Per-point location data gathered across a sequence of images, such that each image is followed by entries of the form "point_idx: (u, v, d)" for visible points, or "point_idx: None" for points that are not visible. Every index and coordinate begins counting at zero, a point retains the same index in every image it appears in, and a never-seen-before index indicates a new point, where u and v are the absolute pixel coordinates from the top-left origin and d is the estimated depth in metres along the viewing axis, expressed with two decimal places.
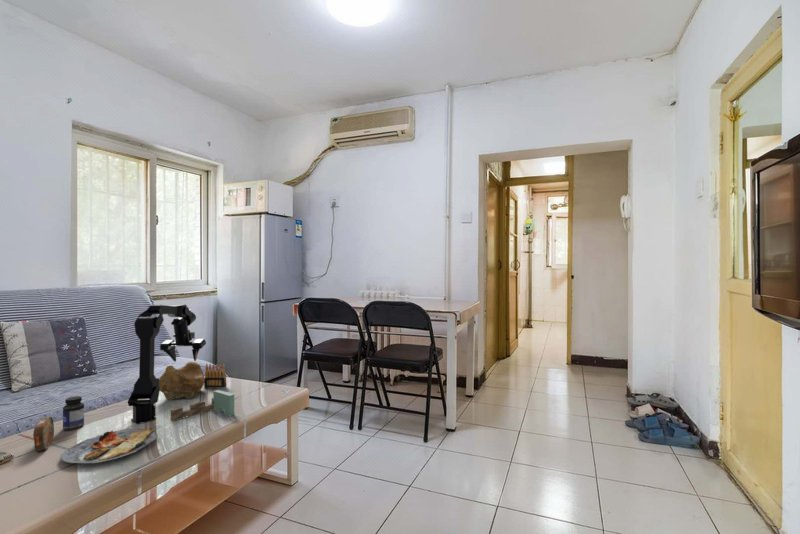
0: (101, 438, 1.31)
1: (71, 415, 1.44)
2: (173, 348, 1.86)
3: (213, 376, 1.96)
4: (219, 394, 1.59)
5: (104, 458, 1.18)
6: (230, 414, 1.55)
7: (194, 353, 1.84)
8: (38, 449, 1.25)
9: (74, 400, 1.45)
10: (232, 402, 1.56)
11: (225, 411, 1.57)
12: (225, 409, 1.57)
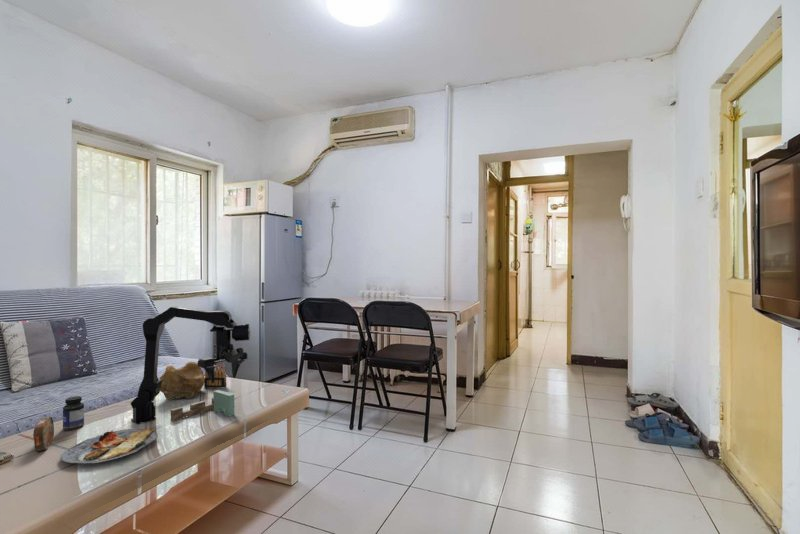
0: (101, 438, 1.31)
1: (71, 415, 1.44)
2: (236, 362, 1.64)
3: None
4: (219, 394, 1.59)
5: (104, 458, 1.18)
6: (230, 414, 1.55)
7: None
8: (38, 449, 1.25)
9: (74, 400, 1.45)
10: (232, 402, 1.56)
11: (225, 411, 1.57)
12: (225, 409, 1.57)
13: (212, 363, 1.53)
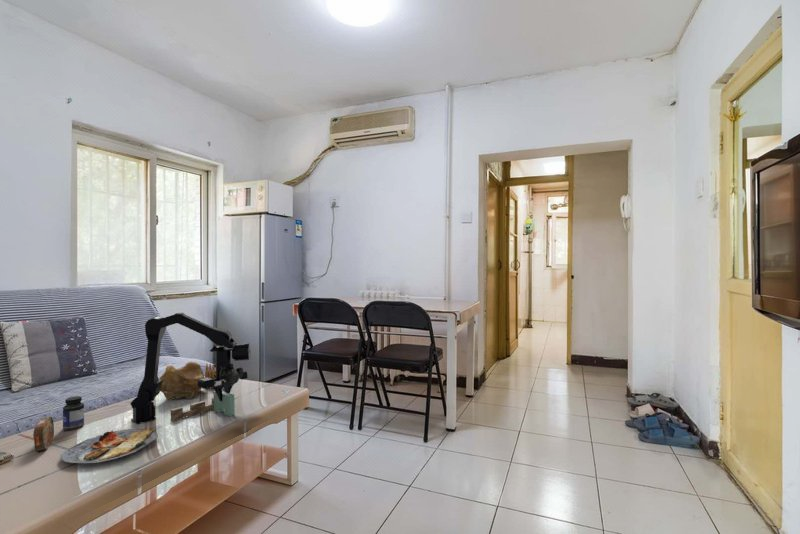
0: (101, 438, 1.31)
1: (71, 415, 1.44)
2: (228, 384, 1.60)
3: (213, 376, 1.96)
4: None
5: (104, 458, 1.18)
6: (230, 414, 1.55)
7: None
8: (38, 449, 1.25)
9: (74, 400, 1.45)
10: (232, 402, 1.56)
11: (225, 411, 1.57)
12: (225, 409, 1.57)
13: (212, 384, 1.53)
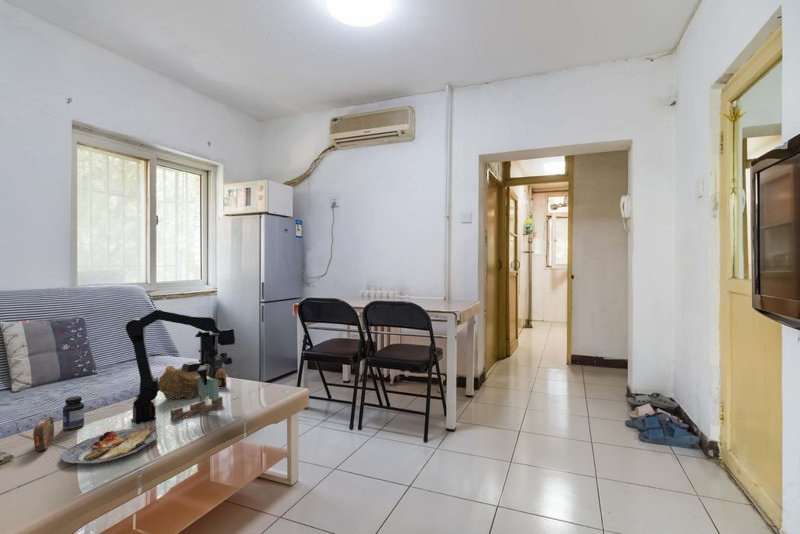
0: (101, 438, 1.31)
1: (71, 415, 1.44)
2: (212, 368, 1.64)
3: None
4: None
5: (104, 458, 1.18)
6: (214, 398, 1.59)
7: None
8: (38, 449, 1.25)
9: (74, 400, 1.45)
10: (216, 386, 1.60)
11: (209, 395, 1.61)
12: (209, 393, 1.61)
13: (196, 368, 1.57)
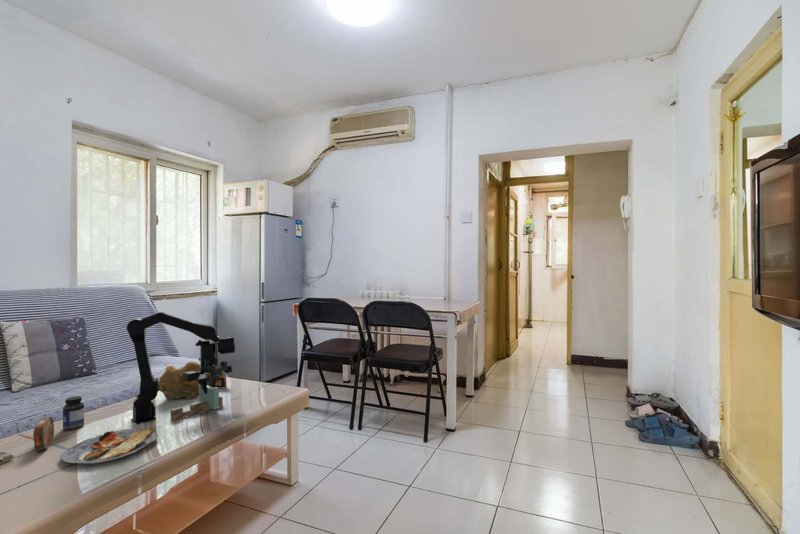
0: (101, 438, 1.31)
1: (71, 415, 1.44)
2: (213, 377, 1.64)
3: None
4: None
5: (104, 458, 1.18)
6: (214, 407, 1.59)
7: None
8: (38, 449, 1.25)
9: (74, 400, 1.45)
10: (217, 395, 1.60)
11: (210, 404, 1.61)
12: (210, 402, 1.61)
13: (196, 377, 1.57)
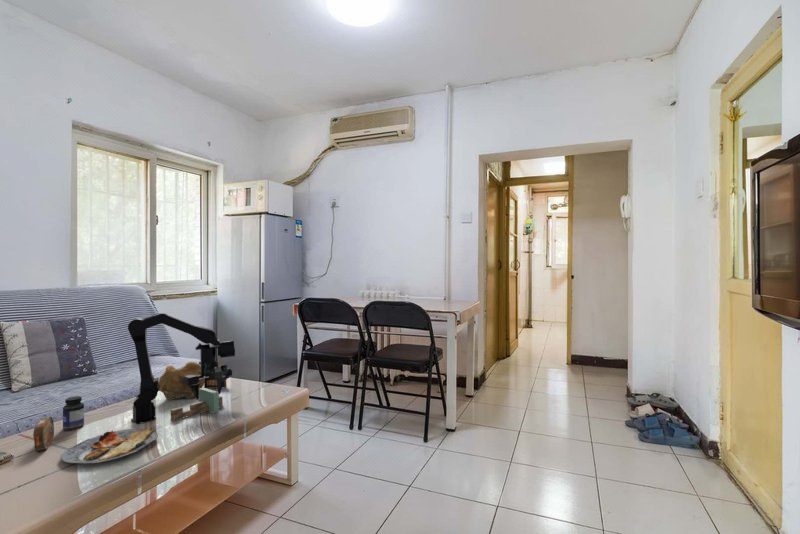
0: (101, 438, 1.31)
1: (71, 415, 1.44)
2: (221, 379, 1.67)
3: None
4: (204, 392, 1.63)
5: (104, 458, 1.18)
6: (214, 411, 1.59)
7: None
8: (38, 449, 1.25)
9: (74, 400, 1.45)
10: (217, 399, 1.60)
11: (210, 408, 1.61)
12: (210, 406, 1.61)
13: (196, 381, 1.57)
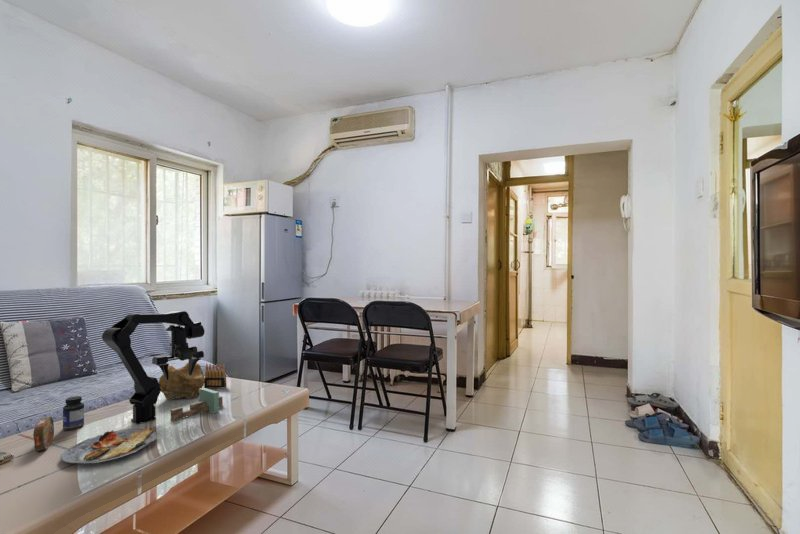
0: (101, 438, 1.31)
1: (71, 415, 1.44)
2: (192, 360, 1.70)
3: (213, 376, 1.96)
4: (204, 392, 1.63)
5: (104, 458, 1.18)
6: (214, 411, 1.59)
7: None
8: (38, 449, 1.25)
9: (74, 400, 1.45)
10: (217, 399, 1.60)
11: (210, 408, 1.61)
12: (210, 406, 1.61)
13: (165, 361, 1.59)
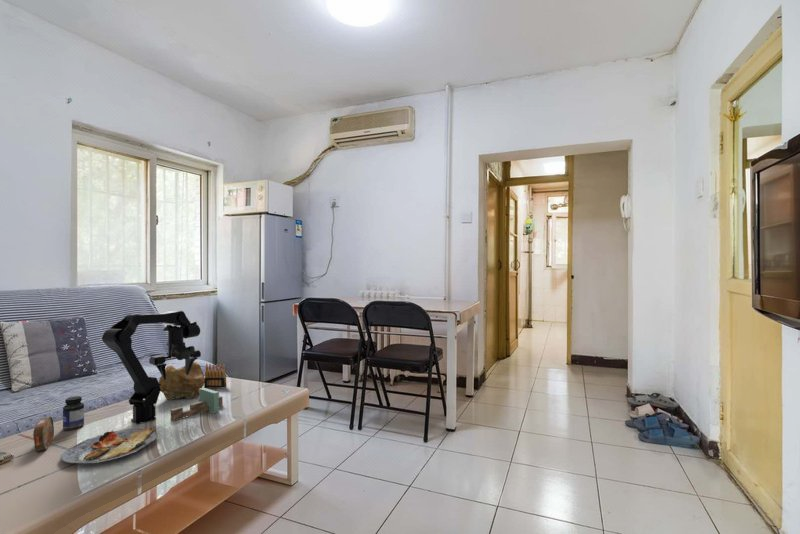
0: (101, 438, 1.31)
1: (71, 415, 1.44)
2: (189, 360, 1.70)
3: (213, 376, 1.96)
4: (204, 392, 1.63)
5: (104, 458, 1.18)
6: (214, 411, 1.59)
7: None
8: (38, 449, 1.25)
9: (74, 400, 1.45)
10: (217, 399, 1.60)
11: (210, 408, 1.61)
12: (210, 406, 1.61)
13: (163, 360, 1.60)
